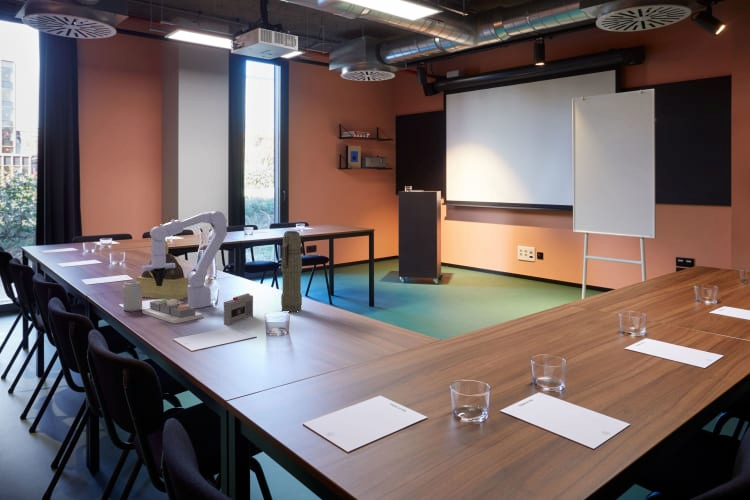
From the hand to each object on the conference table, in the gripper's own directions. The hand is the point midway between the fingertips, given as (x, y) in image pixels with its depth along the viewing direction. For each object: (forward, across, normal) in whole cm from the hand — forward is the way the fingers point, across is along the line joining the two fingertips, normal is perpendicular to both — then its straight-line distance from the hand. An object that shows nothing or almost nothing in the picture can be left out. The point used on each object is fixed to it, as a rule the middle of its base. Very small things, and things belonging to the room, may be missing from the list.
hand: (159, 285), depth 234 cm
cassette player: (+11, -12, +39) cm, 42 cm away
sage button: (+8, +2, +5) cm, 10 cm away
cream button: (+7, +2, +13) cm, 15 cm away
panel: (+10, +2, +13) cm, 17 cm away
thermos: (+10, -38, +42) cm, 58 cm away
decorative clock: (+11, -16, -26) cm, 32 cm away
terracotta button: (+8, +2, +21) cm, 23 cm away
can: (+11, +8, -8) cm, 15 cm away
